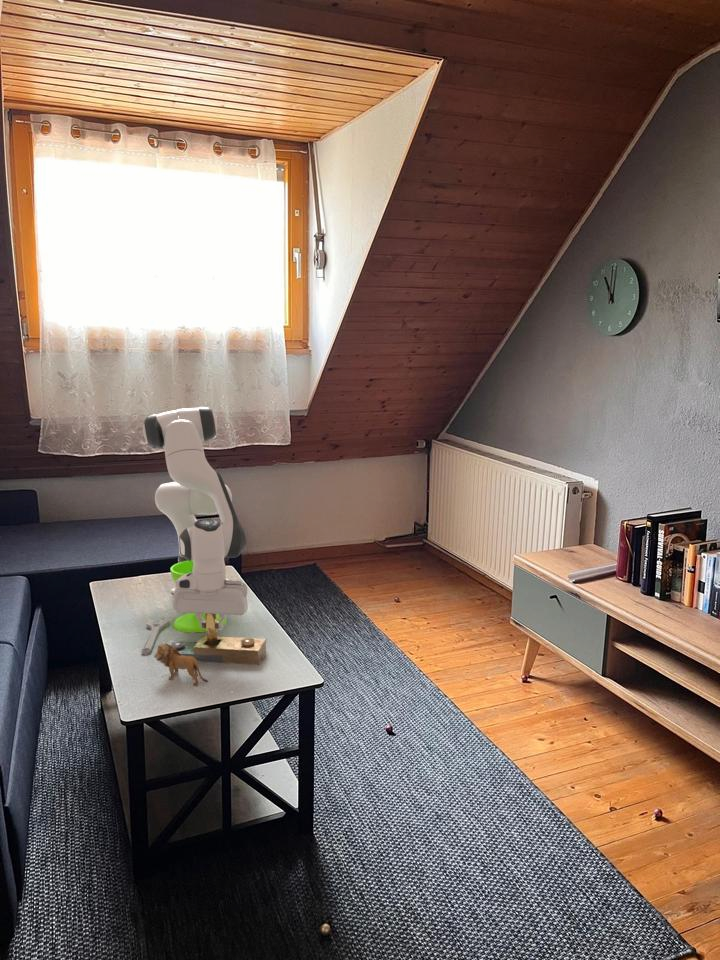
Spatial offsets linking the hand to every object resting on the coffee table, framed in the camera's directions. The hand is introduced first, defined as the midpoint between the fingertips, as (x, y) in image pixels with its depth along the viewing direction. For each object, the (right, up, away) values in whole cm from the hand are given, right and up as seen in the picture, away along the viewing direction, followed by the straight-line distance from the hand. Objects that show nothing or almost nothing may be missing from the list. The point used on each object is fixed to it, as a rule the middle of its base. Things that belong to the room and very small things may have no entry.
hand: (211, 628), depth 205 cm
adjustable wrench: (-21, -6, +15) cm, 26 cm away
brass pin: (0, -5, +1) cm, 5 cm away
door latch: (0, -8, +2) cm, 8 cm away
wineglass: (-9, -4, +26) cm, 27 cm away
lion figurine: (-5, -11, -13) cm, 18 cm away
